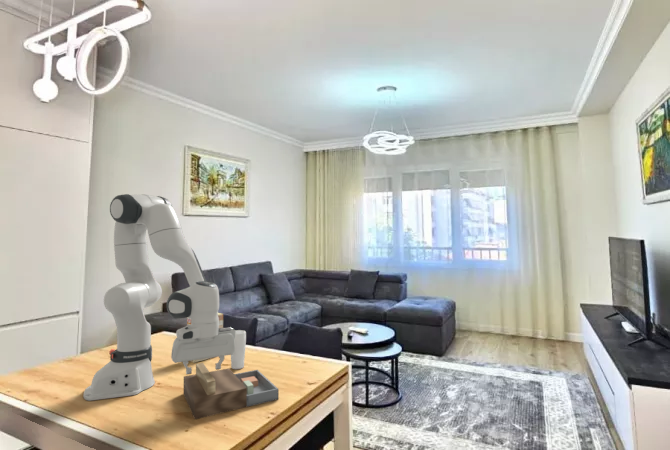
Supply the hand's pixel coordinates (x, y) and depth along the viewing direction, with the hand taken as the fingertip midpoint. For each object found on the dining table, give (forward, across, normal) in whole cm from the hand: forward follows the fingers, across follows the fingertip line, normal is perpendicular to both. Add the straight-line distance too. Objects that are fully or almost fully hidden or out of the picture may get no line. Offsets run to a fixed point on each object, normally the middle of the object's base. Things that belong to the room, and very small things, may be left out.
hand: (203, 371), depth 124 cm
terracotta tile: (+7, -17, -5) cm, 19 cm away
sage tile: (+7, -12, +6) cm, 16 cm away
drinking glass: (+10, -20, -27) cm, 35 cm away
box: (+10, -17, +1) cm, 19 cm away
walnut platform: (+10, -3, +1) cm, 11 cm away
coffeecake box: (+11, -10, -49) cm, 52 cm away
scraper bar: (+4, 0, +1) cm, 4 cm away
